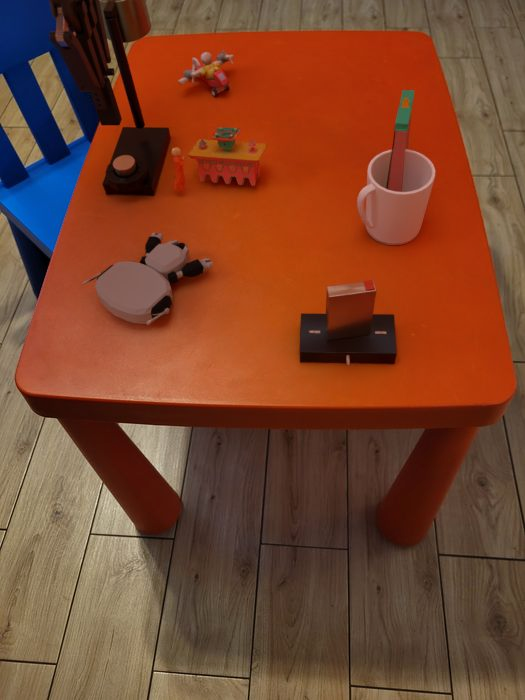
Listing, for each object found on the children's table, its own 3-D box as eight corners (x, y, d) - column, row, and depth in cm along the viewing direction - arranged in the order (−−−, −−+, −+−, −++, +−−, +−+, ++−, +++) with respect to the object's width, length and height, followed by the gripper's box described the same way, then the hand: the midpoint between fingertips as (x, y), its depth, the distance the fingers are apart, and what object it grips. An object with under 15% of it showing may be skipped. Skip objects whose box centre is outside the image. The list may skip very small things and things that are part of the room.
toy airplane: (229, 100, 109) (225, 66, 103) (180, 99, 110) (173, 66, 105) (237, 69, 114) (233, 36, 108) (189, 69, 115) (184, 36, 109)
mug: (401, 196, 93) (410, 140, 84) (435, 233, 89) (449, 178, 80) (338, 223, 91) (341, 168, 82) (371, 262, 86) (377, 209, 78)
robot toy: (157, 242, 92) (85, 304, 86) (152, 219, 89) (76, 282, 82) (220, 277, 88) (149, 344, 81) (217, 254, 84) (143, 323, 77)
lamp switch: (134, 179, 94) (131, 170, 93) (113, 178, 94) (110, 169, 93) (139, 164, 96) (136, 155, 94) (118, 163, 96) (115, 154, 95)
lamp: (160, 129, 100) (131, 12, 84) (118, 128, 100) (81, 12, 84) (171, 91, 105) (146, -25, 89) (131, 91, 106) (99, -24, 90)
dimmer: (299, 374, 77) (299, 364, 75) (301, 313, 83) (301, 301, 80) (395, 376, 76) (397, 365, 74) (391, 313, 81) (393, 301, 79)
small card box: (327, 340, 77) (328, 295, 69) (325, 330, 78) (326, 284, 70) (370, 334, 77) (376, 289, 69) (367, 324, 78) (373, 278, 70)
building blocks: (398, 214, 87) (410, 116, 77) (169, 194, 94) (153, 102, 85) (405, 173, 96) (417, 80, 86) (195, 157, 103) (184, 70, 93)
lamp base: (152, 203, 96) (146, 183, 93) (103, 201, 97) (96, 182, 94) (171, 138, 104) (166, 118, 101) (126, 137, 105) (119, 117, 102)
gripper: (67, -28, 64) (126, 153, 84) (99, -86, 71) (146, 94, 91) (0, -27, 65) (74, 152, 85) (38, -84, 72) (98, 93, 92)
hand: (111, 121), depth 88 cm, fingers closed
